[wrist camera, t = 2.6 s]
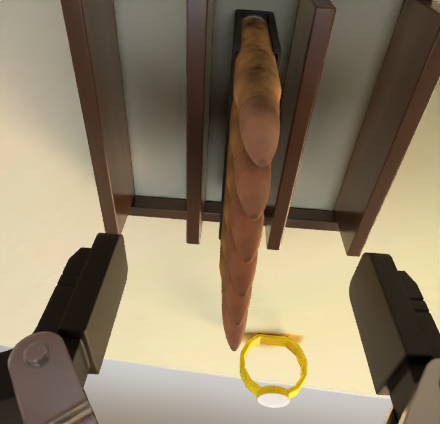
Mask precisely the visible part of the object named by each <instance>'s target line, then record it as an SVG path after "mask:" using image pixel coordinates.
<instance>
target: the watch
mask: <svg viewBox="0 0 440 424" xmlns="http://www.w3.org/2000/svg"><path fill="white" fill-rule="evenodd" d="M260 343H261V344H268V345H276V346H284V347H287V348H288V349H289V350H290V351H291V352H292V353H293V354H294V355H295V356H296V358H297V360H298V362H299V364H300V367H301V377H300V379H299V381H298V382H297V384H296V385H295V386H293V387H291V388H289V389H287V390H286V389H285V388H283V387H280V386H264V387H260V386H259V385H258V384H256V383H255V382H254V381H252V380H251V378H250V376H249V374H248V372H247V370H246V368H245V358H246V356H247V354H248V352H249V350H250V349H252V348H253V347H255V346H257V345H258V344H260ZM306 360H307V359H306V357H305V355H304V353H303V351H302V349H301V348H300V346H299V345H298V344H297V343H296V342H294V341H293V340H292V339H291V338H290V337H288V336H287V337H283V336H273V335H265V334H257V335H256V336H254V337H252V338H251V339H249V340H248V341H247V342H246V344H245V346H244V348H243V349H242V351H241V355H240V374H241V377H242V379H243V381H244V383H245V385H246V387H247V388H248V390H249V391H251V392H252V393H253V394H255V395H256V396H257V401H258V402H259V403H260V404H261V405H263V406H266V407H271V408H278V407H283V406H286V405H288V404H289V402H290V398H292V397H294V396H296V394H298V392H299V391H300V389H301V387H302V386H303V384H304V382H305V379H306V376H307V361H306Z"/></svg>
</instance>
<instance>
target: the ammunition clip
mask: <svg viewBox="0 0 440 424" xmlns="http://www.w3.org/2000/svg"><path fill="white" fill-rule="evenodd" d="M281 53H282V52H281V47H280V42H279V37H278V32H277V27H276V22H275V17H274V14H273V12H262V11H248V10H236V11H235V23H234V36H233V50H232V63H231V77H230V90H229V104H228V118H227V131H226V145H225V158H224V172H223V186H222V200H221V214H220V228H219V239H220V240H221V247H220V265H219V267H220V274H221V279H222V316H223V325H224V330H225V334H226V338H227V341H228V344H229V346H230V348H231V350H232V351H236V350H237V349H238V347H239V345H240V343H241V341H242V338H243V335H244V331H245V326H246V321H247V313H248V307H249V303H250V298H251V292H252V282H253V279H254V275H255V270H256V264H257V254H258V248H259V245H260V241H261V236H262V231H263V221H264V209H265V207H266V204H267V201H268V197H269V191H270V184H271V166H270V165H271V160H272V158H273V156H274V155H275V152H276V149H277V145H278V140H279V134H280V118H279V112H280V110H279V102H280V97H281V85H280V80H279V74H278V72H279V65H280V59H281Z"/></svg>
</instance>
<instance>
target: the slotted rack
mask: <svg viewBox="0 0 440 424" xmlns="http://www.w3.org/2000/svg"><path fill="white" fill-rule="evenodd" d="M61 5H62V10H63V15H64V20H65V25H66V30H67V36H68V41H69V46H70V51H71V56H72V61H73V67H74V72H75V77H76V82H77V87H78V92H79V98H80V103H81V108H82V113H83V118H84V123H85V129H86V134H87V139H88V144H89V149H90V154H91V160H92V165H93V170H94V175H95V180H96V185H97V191H98V196H99V201H100V206H101V211H102V216H103V222H104V227H105V232H106V233H109V234H121V232H122V229H123V227H124V224H125V221H126V219H127V216H128V215H132V216H145V217H158V218H171V219H184V220H187V232H186V242H187V243H189V244H200V238H201V230H202V222H203V221H210V222H220V214H221V203H217V202H205V194H206V170H207V147H208V123H209V100H210V77H211V53H212V30H213V6H214V0H187V200H178V199H165V198H152V197H139V196H135V192H134V183H133V174H132V165H131V156H130V147H129V139H128V130H127V121H126V112H125V103H124V94H123V85H122V77H121V68H120V59H119V50H118V41H117V32H116V24H115V15H114V6H113V0H61ZM335 12H336V7H335V6H334V5H333V4H332V3H331V2H330V0H300V2H299V8H298V13H297V19H296V25H295V30H294V36H293V42H292V47H291V53H290V59H289V65H288V70H287V76H286V82H285V87H284V93H283V99H282V104H281V110H280V116H279V118H280V134H279V140H278V145H277V149H276V152H275V155H274V156H273V158H272V161H271V184H270V191H269V197H268V201H267V204H266V207H265V209H264V221H263V226H265V231H266V246H267V249H270V250H280V246H281V242H282V238H283V234H284V229H285V227H289V228H302V229H315V230H328V231H340V234H341V237H342V241H343V244H344V247H345V251H346V254H347V256H360V255H361V252H362V250H363V248H364V246H365V243H366V241H367V239H368V237H369V234H370V232H371V230H372V227H373V225H374V223H375V221H376V218H377V216H378V214H379V212H380V209H381V207H382V205H383V203H384V200H385V198H386V196H387V194H388V191H389V189H390V187H391V185H392V182H393V180H394V178H395V176H396V173H397V171H398V169H399V167H400V164H401V162H402V160H403V158H404V155H405V153H406V151H407V148H408V146H409V144H410V142H411V139H412V137H413V135H414V133H415V130H416V128H417V126H418V124H419V121H420V119H421V117H422V115H423V112H424V110H425V108H426V106H427V103H428V101H429V99H430V97H431V94H432V92H433V90H434V88H435V85H436V83H437V81H438V79H439V76H440V4H438V3H436V2H434V1H433V0H405V2H404V5H403V8H402V11H401V14H400V17H399V20H398V23H397V25H396V28H395V31H394V34H393V37H392V40H391V43H390V46H389V49H388V52H387V55H386V58H385V61H384V64H383V67H382V70H381V73H380V76H379V79H378V82H377V85H376V88H375V91H374V94H373V96H372V99H371V102H370V105H369V108H368V111H367V114H366V117H365V120H364V123H363V126H362V129H361V132H360V135H359V138H358V141H357V144H356V147H355V150H354V153H353V156H352V159H351V162H350V165H349V168H348V170H347V173H346V176H345V179H344V182H343V185H342V188H341V191H340V194H339V197H338V200H337V203H336V206H335V209H334V211H322V210H309V209H296V208H290V204H291V200H292V195H293V191H294V187H295V183H296V178H297V174H298V170H299V166H300V161H301V157H302V153H303V149H304V144H305V140H306V136H307V131H308V127H309V123H310V119H311V114H312V110H313V106H314V102H315V97H316V93H317V89H318V85H319V80H320V76H321V72H322V68H323V63H324V59H325V55H326V51H327V46H328V42H329V38H330V34H331V29H332V25H333V21H334V17H335Z"/></svg>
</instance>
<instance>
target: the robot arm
mask: <svg viewBox="0 0 440 424" xmlns="http://www.w3.org/2000/svg"><path fill="white" fill-rule="evenodd" d="M127 271H128V266H127V258H126V252H125V245H124V239H123V235H122V234H109V233H98V234H97V236H96V238H95V241H94V243H93V245H92V248H80V249H79V250H78V251H77V252H76V253H75V254H74V255H73V256H72V257H70V258H69V260H68V262H67V264H66V266H65V268H64V271H63V275H61V277H60V279H59V281H58V283H57V284H58V285H57V286H56V287H55V290H54V292H53V294H52V296H51V298H50V300H49V302H48V304H47V306H46V309H45V311H44V313H43V315H42V317H41V319H40V321H39V323H38V325H37V327H36V329H35V331H34V332H33V333H32V334H31V335H29V336H27V337H25V338H24V339H22V340H21V341H20V342H19V343H18V344H17V345H16V346H15V347H14V348H13V349H11V350H8V351H5V352H1V353H0V424H98V421H97V419H96V417H95V414H94V412H93V409H92V407H91V405H90V403H89V401H88V398H87V396H86V393H85V391H84V388H83V387H84V384H85V381H86V378H87V374H99V371H100V368H101V365H102V362H103V358H104V355H105V351H106V348H107V345H108V341H109V338H110V335H111V331H112V328H113V324H114V321H115V318H116V314H117V311H118V307H119V304H120V301H121V297H122V294H123V291H124V287H125V284H126V280H127ZM349 296H350V301H351V305H352V308H353V312H354V315H355V319H356V323H357V326H358V330H359V333H360V337H361V341H362V344H363V348H364V351H365V355H366V359H367V362H368V366H369V369H370V373H371V377H372V380H373V384H374V387H375V391H376V394H378V395H390V397H391V400H392V404H393V405H392V406H391V408H390V410H389V412H388V414H387V416H386V418H385V421H384V423H383V424H440V333H439V331H438V329H437V327H436V324H435V322H434V320H433V318H432V316H431V314H430V313H429V309H428V307H427V305H426V303H425V301H423V299H424V298H423V296H422V294H421V292H420V290H419V288H418V286H417V284H416V283H415V282H414V281H413V280H412V278H411V277H410V276H409V275H408V274H407V273H406V272H405V271H397V268H396V266H395V264H394V261H393V259H392V257H391V256H390V255H389V254H379V253H364V254H363V255H362V257H361V260H360V262H359V264H358V266H357V268H356V271H355V273H354V275H353V277H352V280H351V282H350V287H349Z"/></svg>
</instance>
